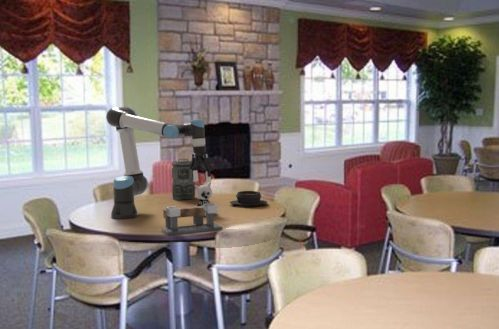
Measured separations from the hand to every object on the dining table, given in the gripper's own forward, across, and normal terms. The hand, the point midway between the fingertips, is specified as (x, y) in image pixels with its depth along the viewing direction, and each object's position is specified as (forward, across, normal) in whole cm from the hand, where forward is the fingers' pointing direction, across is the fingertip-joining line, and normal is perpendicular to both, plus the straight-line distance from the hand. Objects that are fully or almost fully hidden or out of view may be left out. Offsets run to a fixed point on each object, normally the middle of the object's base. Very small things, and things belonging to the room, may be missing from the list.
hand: (202, 181), depth 315 cm
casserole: (+22, +13, -43) cm, 50 cm away
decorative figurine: (+21, +6, -3) cm, 22 cm away
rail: (+16, -12, +21) cm, 29 cm away
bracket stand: (+21, -24, +25) cm, 40 cm away
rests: (+21, -11, +22) cm, 32 cm away
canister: (+18, +61, -23) cm, 68 cm away
